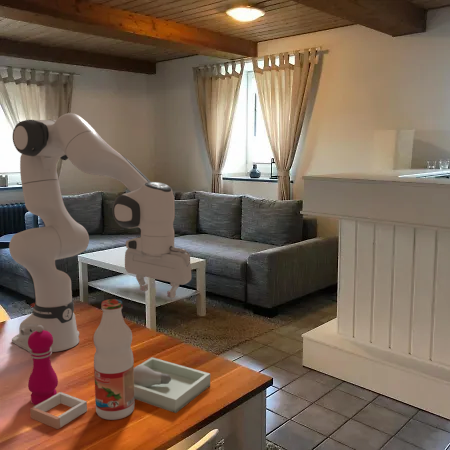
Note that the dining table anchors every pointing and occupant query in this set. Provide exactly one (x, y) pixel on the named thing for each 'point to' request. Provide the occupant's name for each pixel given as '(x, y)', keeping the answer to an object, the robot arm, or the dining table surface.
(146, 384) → the lightbulb
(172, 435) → the dining table surface
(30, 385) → the pepper mill
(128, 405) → the white plastic bottle
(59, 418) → the socket collar
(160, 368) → the tray
